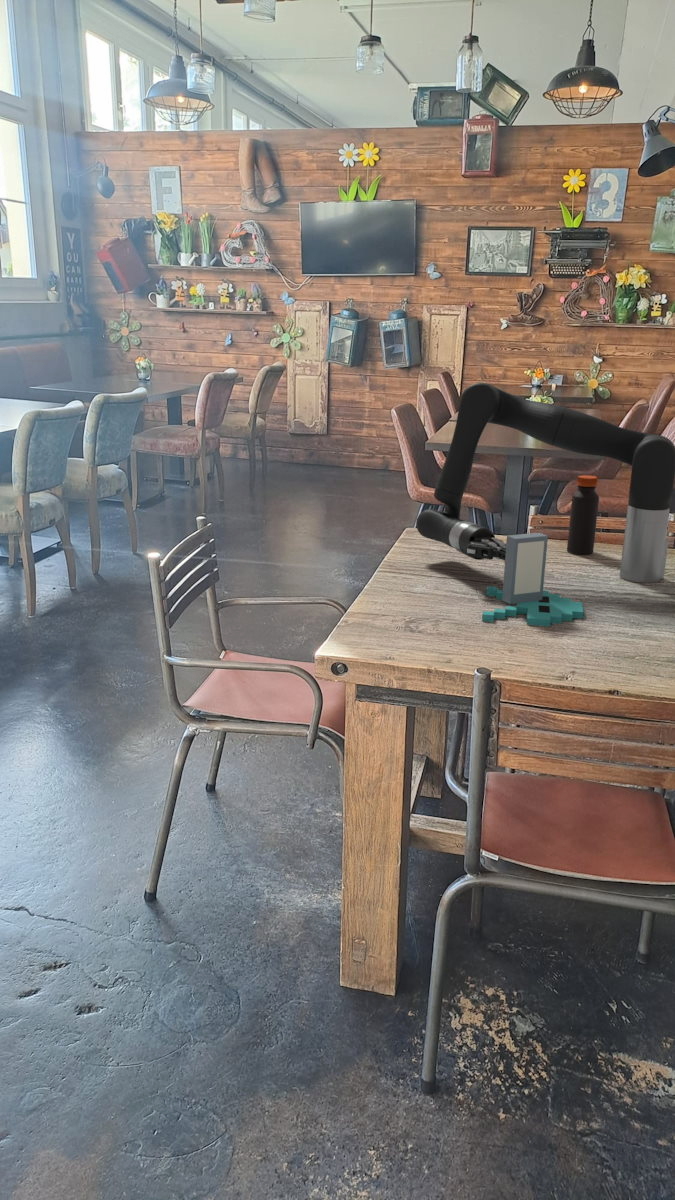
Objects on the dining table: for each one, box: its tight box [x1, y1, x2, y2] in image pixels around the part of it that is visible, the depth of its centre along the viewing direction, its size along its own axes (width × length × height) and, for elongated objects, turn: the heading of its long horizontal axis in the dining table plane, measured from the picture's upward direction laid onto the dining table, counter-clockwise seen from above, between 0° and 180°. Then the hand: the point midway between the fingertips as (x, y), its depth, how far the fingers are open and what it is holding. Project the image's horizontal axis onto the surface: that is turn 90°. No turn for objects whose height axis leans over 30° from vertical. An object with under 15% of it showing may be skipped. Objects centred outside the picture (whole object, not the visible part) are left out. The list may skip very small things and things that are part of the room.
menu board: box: [501, 532, 549, 605], centre depth 179 cm, size 8×3×14 cm, turn 112°
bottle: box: [566, 474, 600, 556], centre depth 223 cm, size 7×7×20 cm
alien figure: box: [481, 585, 584, 627], centre depth 179 cm, size 20×2×20 cm
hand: (513, 557), depth 185 cm, fingers closed
